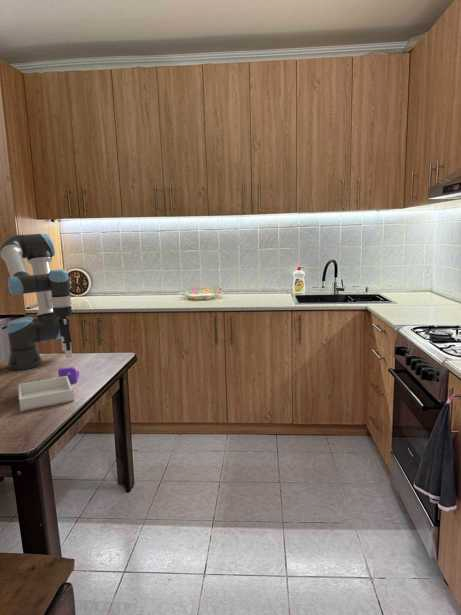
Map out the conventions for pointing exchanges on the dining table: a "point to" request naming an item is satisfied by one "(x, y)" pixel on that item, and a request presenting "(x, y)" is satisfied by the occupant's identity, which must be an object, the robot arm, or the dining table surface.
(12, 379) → the dining table surface
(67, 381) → the bin
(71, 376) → the bracket
